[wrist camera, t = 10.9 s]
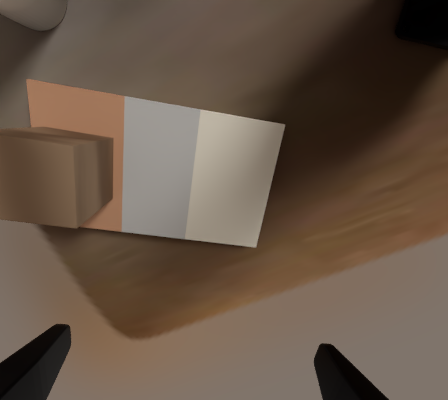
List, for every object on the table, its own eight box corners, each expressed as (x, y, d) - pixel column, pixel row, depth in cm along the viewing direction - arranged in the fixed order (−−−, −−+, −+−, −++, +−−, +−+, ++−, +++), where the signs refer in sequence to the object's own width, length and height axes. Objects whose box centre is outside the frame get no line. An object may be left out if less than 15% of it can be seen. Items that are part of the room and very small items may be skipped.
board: (280, 124, 18) (285, 124, 16) (253, 240, 21) (256, 247, 20) (40, 81, 16) (26, 78, 15) (51, 215, 19) (41, 222, 18)
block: (113, 137, 16) (73, 146, 11) (112, 198, 17) (76, 228, 13) (44, 126, 16) (-29, 130, 11) (49, 190, 17) (-13, 217, 12)
